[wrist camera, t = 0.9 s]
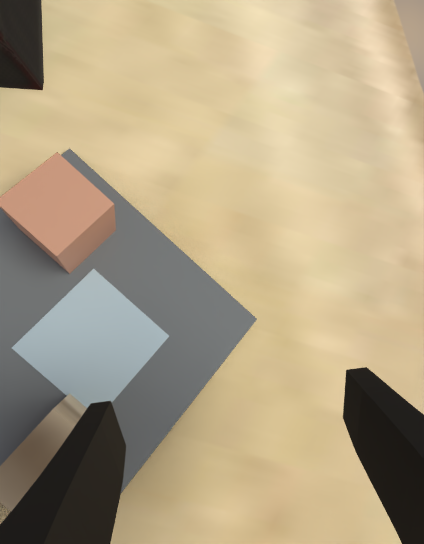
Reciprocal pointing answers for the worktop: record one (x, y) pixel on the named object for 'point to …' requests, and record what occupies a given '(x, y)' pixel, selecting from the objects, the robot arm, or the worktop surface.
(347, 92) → the worktop surface
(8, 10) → the barrier
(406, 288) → the worktop surface
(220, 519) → the worktop surface
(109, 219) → the terracotta block
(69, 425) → the maple block
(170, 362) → the mat
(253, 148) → the worktop surface
